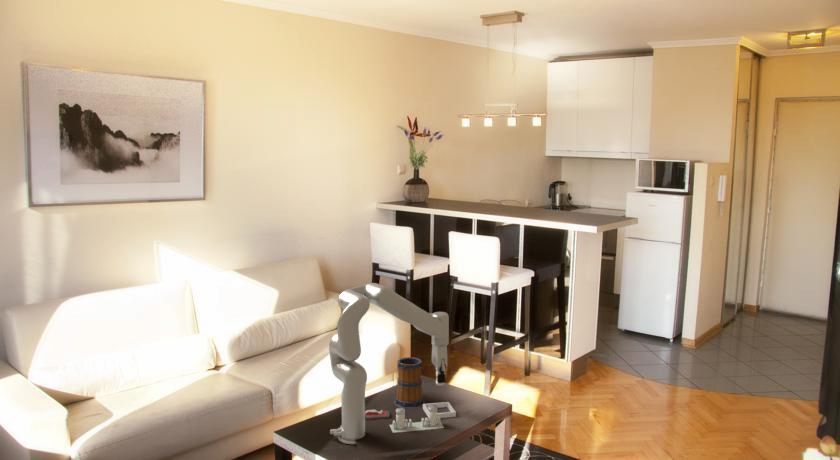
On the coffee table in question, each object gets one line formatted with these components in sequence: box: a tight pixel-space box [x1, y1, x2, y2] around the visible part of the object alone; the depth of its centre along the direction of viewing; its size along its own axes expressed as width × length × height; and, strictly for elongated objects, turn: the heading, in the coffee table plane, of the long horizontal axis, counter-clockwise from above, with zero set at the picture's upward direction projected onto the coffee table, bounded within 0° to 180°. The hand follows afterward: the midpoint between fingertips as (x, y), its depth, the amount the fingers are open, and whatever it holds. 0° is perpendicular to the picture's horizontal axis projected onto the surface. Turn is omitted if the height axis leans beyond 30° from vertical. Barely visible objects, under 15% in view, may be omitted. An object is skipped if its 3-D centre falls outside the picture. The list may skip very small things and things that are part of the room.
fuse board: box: [389, 417, 445, 434], centre depth 280 cm, size 22×8×4 cm, turn 103°
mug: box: [393, 356, 426, 409], centre depth 311 cm, size 19×14×20 cm
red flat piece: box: [365, 409, 391, 421], centre depth 291 cm, size 9×4×20 cm
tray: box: [422, 401, 457, 419], centre depth 295 cm, size 12×12×4 cm
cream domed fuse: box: [395, 407, 406, 430], centre depth 278 cm, size 4×4×8 cm
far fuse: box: [428, 405, 438, 427], centre depth 281 cm, size 4×4×8 cm
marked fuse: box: [435, 366, 445, 387], centre depth 293 cm, size 4×4×8 cm
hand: (439, 380), depth 293 cm, fingers closed on marked fuse, 3 cm apart
